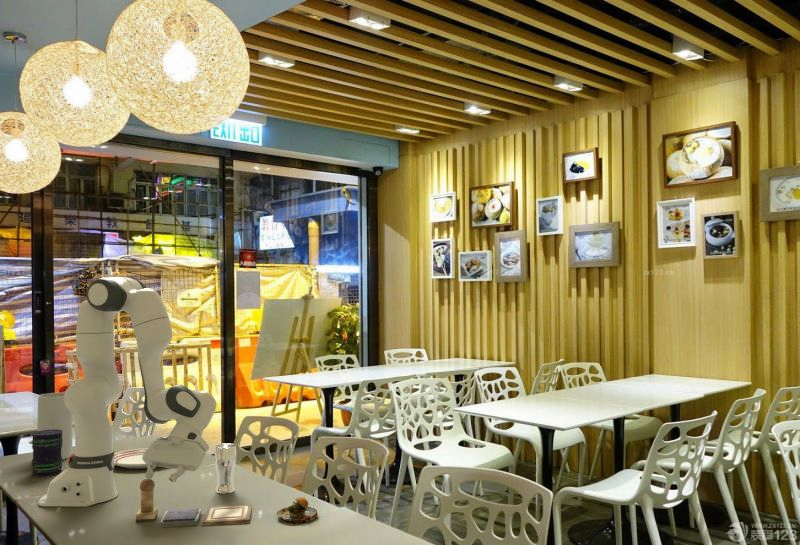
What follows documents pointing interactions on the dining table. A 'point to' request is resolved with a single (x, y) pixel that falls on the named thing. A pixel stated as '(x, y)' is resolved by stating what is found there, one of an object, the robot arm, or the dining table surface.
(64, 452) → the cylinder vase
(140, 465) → the dinner plate
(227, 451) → the beer glass
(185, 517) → the ink pad
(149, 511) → the stamp
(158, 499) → the dining table surface
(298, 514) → the plate of salad
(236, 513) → the board
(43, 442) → the storage jar
